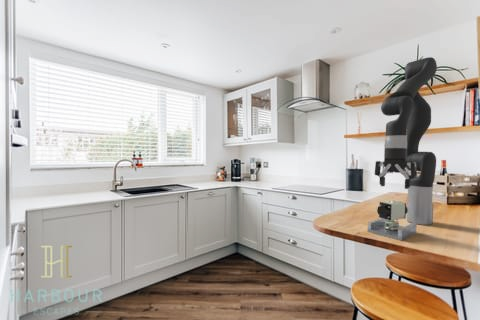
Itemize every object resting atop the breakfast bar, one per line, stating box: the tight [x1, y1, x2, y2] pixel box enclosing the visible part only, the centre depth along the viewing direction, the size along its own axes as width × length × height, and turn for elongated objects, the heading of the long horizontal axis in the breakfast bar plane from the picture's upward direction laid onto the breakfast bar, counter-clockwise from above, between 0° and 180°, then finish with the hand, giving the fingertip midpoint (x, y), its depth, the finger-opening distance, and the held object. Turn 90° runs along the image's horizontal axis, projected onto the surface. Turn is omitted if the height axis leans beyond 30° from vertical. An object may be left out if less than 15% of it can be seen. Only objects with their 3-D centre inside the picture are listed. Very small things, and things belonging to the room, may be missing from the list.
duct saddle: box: [367, 217, 418, 241], centre depth 96 cm, size 16×12×4 cm
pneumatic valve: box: [376, 199, 408, 231], centre depth 96 cm, size 6×12×12 cm, turn 111°
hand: (394, 187), depth 95 cm, fingers open, 8 cm apart
